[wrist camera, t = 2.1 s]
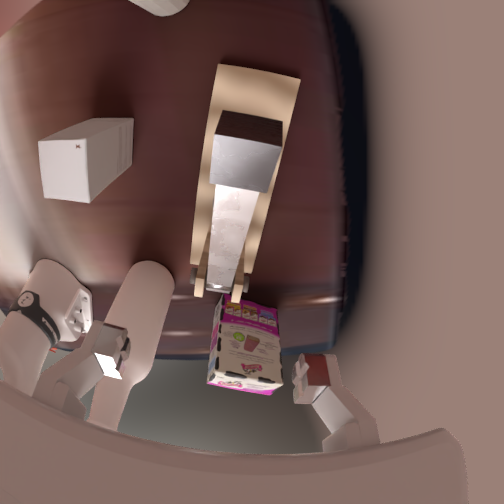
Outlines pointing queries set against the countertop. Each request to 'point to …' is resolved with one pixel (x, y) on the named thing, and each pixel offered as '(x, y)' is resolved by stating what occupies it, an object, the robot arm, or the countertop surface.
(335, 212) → the countertop surface
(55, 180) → the supplement box
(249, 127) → the lever
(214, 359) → the candy bar box
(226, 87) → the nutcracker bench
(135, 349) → the alcohol
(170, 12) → the paper towel roll
